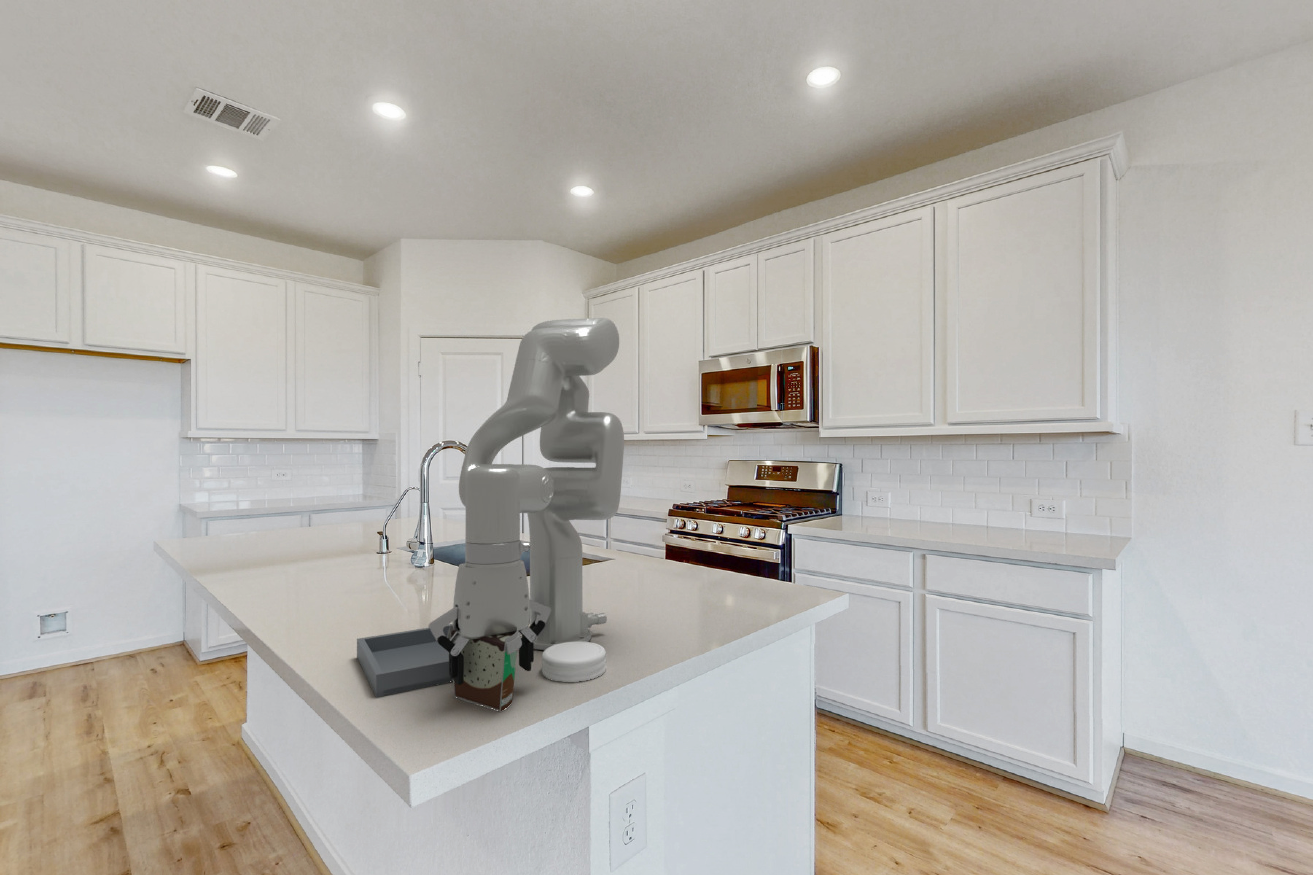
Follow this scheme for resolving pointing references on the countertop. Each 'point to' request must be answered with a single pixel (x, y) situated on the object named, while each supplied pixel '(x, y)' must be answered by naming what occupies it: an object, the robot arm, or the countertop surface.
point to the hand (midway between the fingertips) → (492, 674)
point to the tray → (403, 661)
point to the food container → (488, 670)
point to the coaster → (574, 661)
